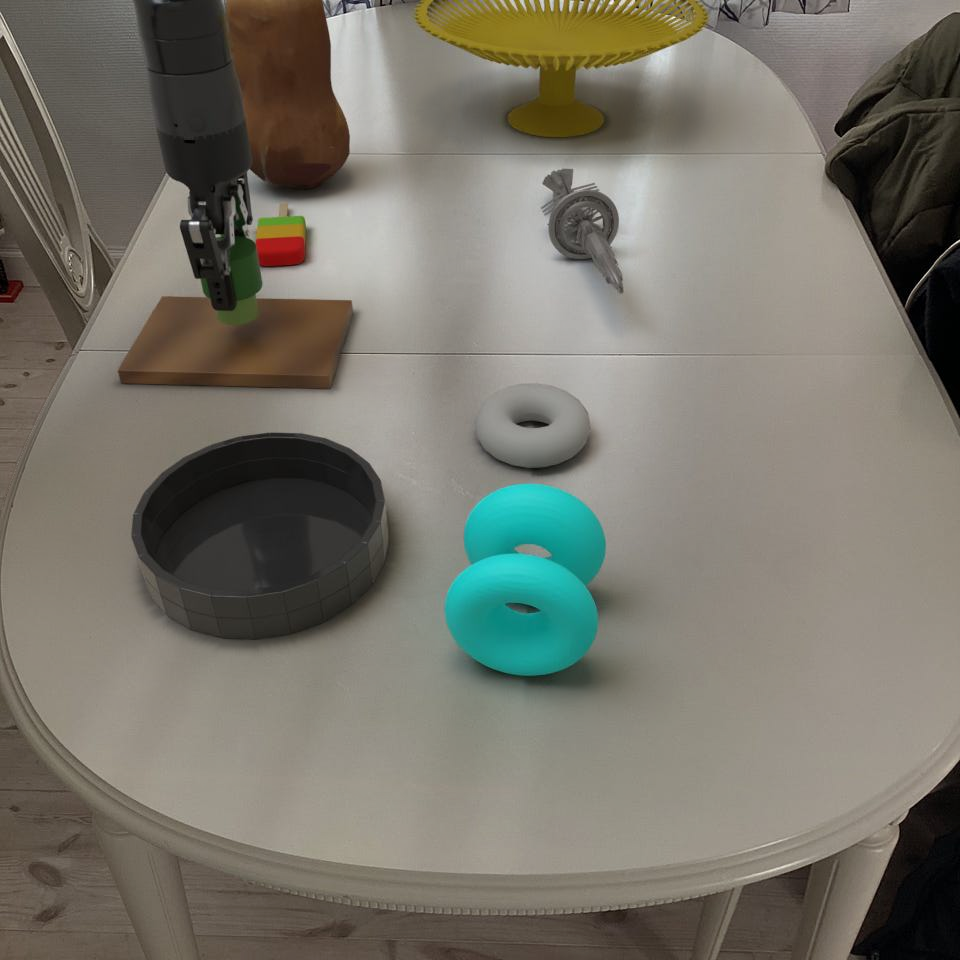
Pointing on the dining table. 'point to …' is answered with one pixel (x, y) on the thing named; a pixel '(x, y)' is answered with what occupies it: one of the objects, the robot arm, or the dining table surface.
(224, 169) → the robot arm
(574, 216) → the spaceship
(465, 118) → the dining table surface
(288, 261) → the popsicle
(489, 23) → the cake stand
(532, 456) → the donut
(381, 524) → the pan
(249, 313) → the green cylinder
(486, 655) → the donuts
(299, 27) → the butternut squash
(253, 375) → the board
